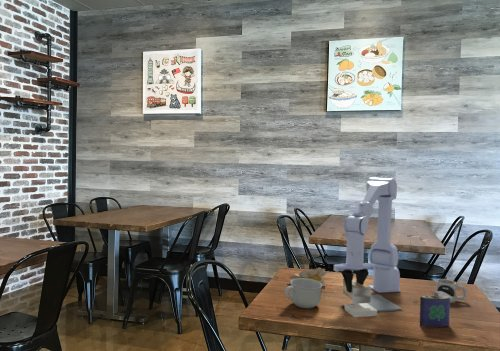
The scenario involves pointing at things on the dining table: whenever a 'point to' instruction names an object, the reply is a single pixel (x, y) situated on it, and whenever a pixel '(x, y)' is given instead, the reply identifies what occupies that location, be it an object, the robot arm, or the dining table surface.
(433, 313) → the flask
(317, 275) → the decorative flower
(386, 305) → the mat
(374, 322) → the dining table surface
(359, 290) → the pusher
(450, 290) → the mug
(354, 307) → the tile
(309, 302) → the teacup
